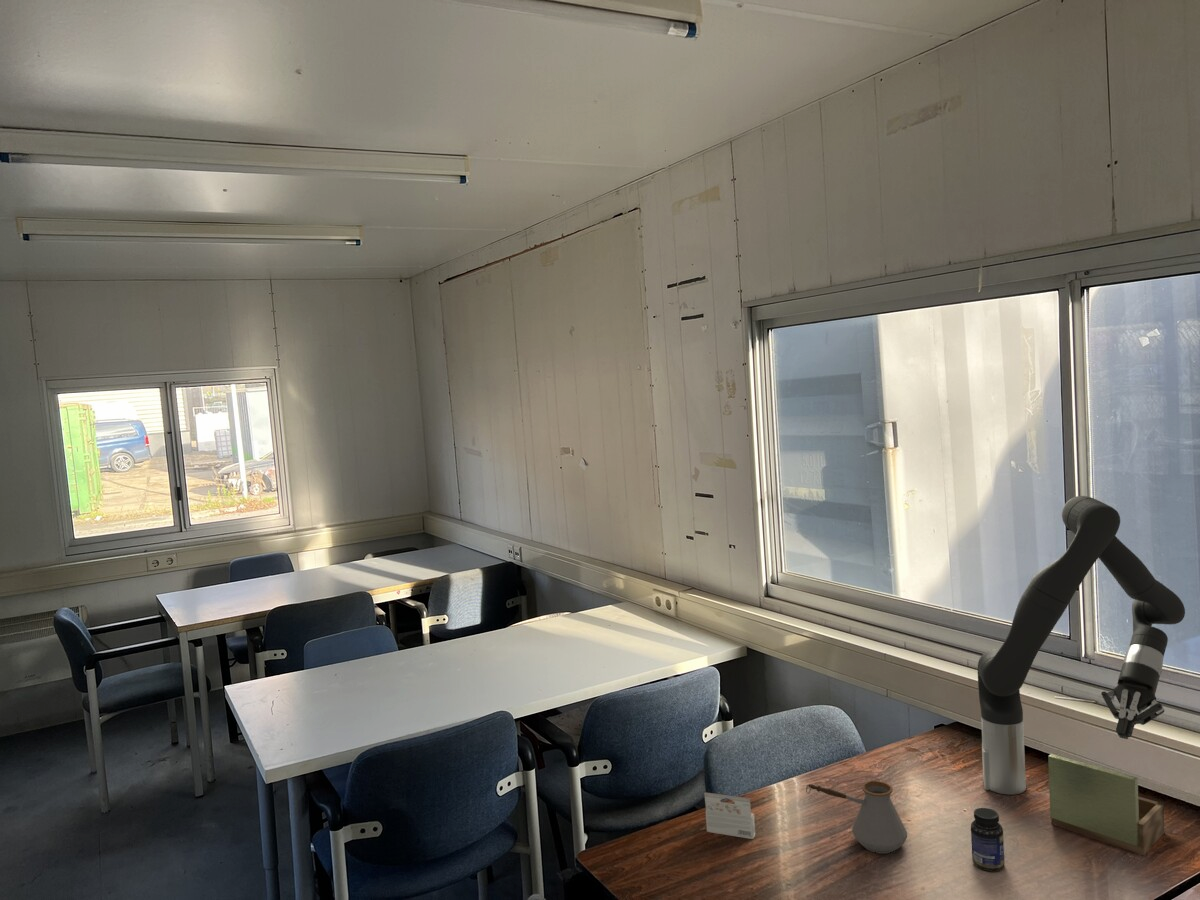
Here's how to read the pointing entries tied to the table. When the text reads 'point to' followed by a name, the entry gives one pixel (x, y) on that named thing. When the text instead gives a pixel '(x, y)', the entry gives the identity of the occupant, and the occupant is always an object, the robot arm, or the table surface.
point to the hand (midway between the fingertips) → (1122, 736)
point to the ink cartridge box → (729, 816)
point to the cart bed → (1148, 827)
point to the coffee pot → (875, 817)
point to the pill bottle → (987, 840)
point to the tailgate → (1094, 798)
